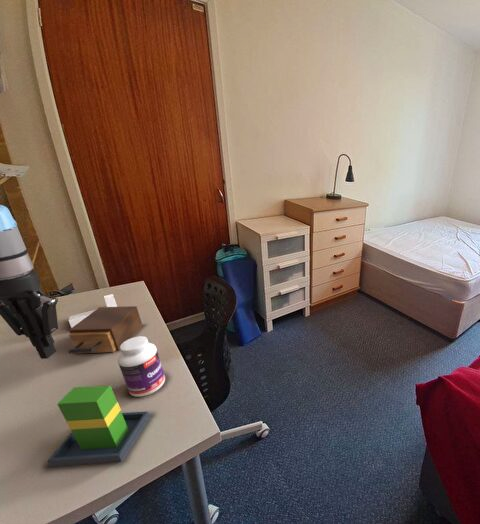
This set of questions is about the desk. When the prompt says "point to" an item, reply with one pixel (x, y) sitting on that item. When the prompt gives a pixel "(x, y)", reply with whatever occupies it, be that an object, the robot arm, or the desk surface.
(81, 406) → the yellow-banded green block
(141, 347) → the pill bottle
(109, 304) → the bracket
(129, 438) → the tray
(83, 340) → the drawer
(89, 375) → the desk surface
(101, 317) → the cabinet
